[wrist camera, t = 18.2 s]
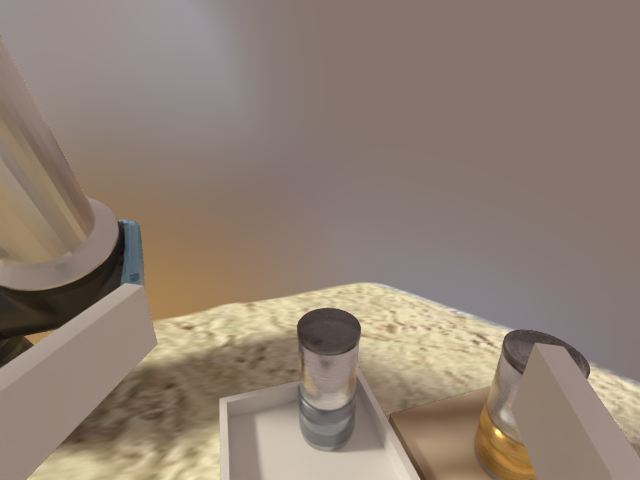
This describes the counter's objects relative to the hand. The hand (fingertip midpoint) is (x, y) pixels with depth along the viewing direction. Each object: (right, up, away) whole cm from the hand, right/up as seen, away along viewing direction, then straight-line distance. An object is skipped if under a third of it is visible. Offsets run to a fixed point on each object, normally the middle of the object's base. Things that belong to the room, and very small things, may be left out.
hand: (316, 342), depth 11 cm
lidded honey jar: (+19, -19, +22) cm, 35 cm away
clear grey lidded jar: (+1, -18, +26) cm, 31 cm away
